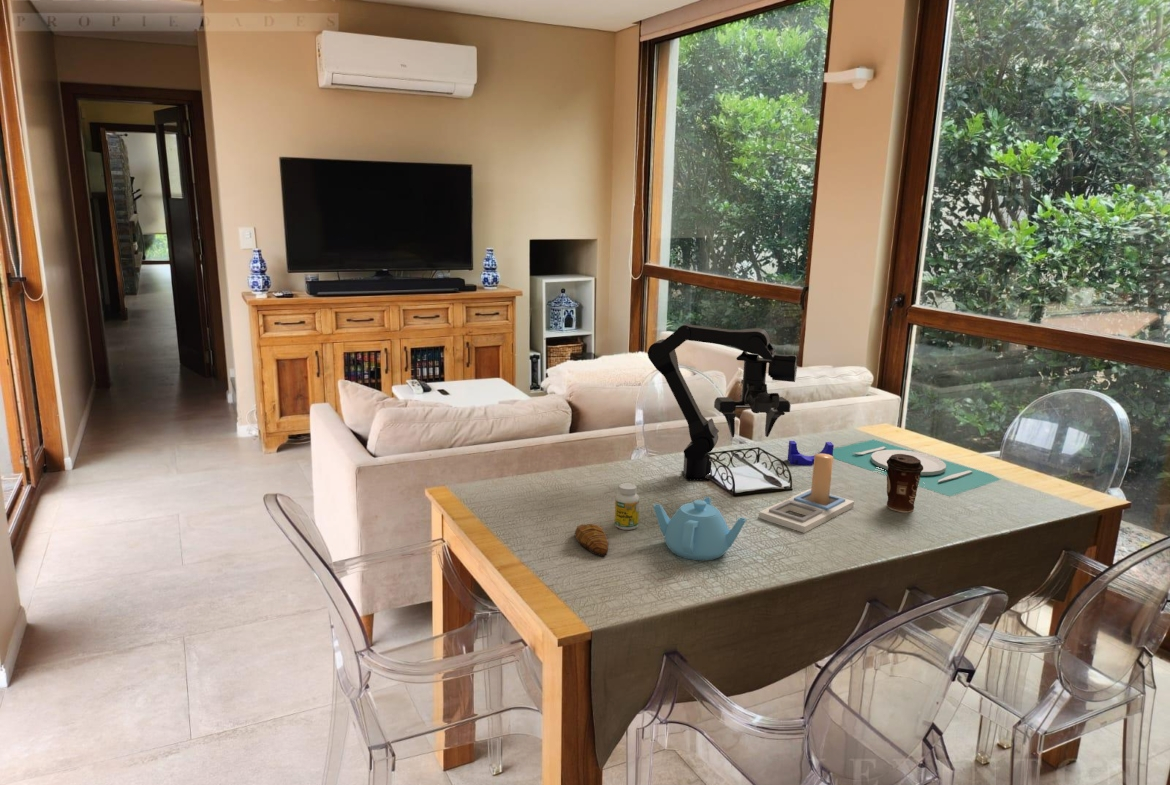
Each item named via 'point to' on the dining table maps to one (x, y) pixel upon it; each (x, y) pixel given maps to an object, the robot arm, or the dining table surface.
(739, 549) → the dining table surface
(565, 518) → the dining table surface
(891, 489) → the coffee cup
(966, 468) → the place mat
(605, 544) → the croissant
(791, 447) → the blue cradle holder
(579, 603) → the dining table surface
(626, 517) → the supplement bottle
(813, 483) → the orange plug
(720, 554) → the teapot
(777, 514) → the socket tray
